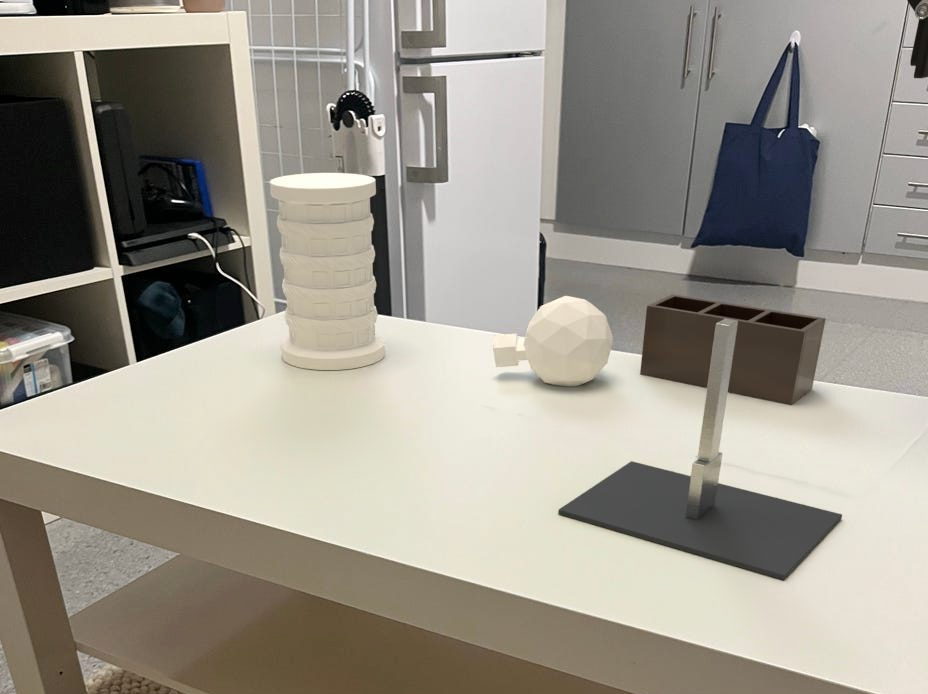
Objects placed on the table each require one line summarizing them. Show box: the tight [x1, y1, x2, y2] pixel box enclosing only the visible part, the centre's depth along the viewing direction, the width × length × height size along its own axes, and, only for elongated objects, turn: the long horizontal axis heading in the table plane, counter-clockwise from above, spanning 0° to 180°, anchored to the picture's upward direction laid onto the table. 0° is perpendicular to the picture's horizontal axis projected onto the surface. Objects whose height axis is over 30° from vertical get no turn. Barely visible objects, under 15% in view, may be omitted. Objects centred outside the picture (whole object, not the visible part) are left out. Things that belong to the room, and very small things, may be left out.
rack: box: [639, 293, 826, 406], centre depth 102 cm, size 6×16×8 cm, turn 54°
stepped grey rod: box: [685, 319, 738, 520], centre depth 74 cm, size 1×3×14 cm, turn 144°
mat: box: [557, 460, 843, 581], centre depth 78 cm, size 18×12×1 cm, turn 54°
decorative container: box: [269, 172, 386, 371], centre depth 109 cm, size 12×12×18 cm
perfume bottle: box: [492, 295, 614, 387], centre depth 103 cm, size 9×9×12 cm
